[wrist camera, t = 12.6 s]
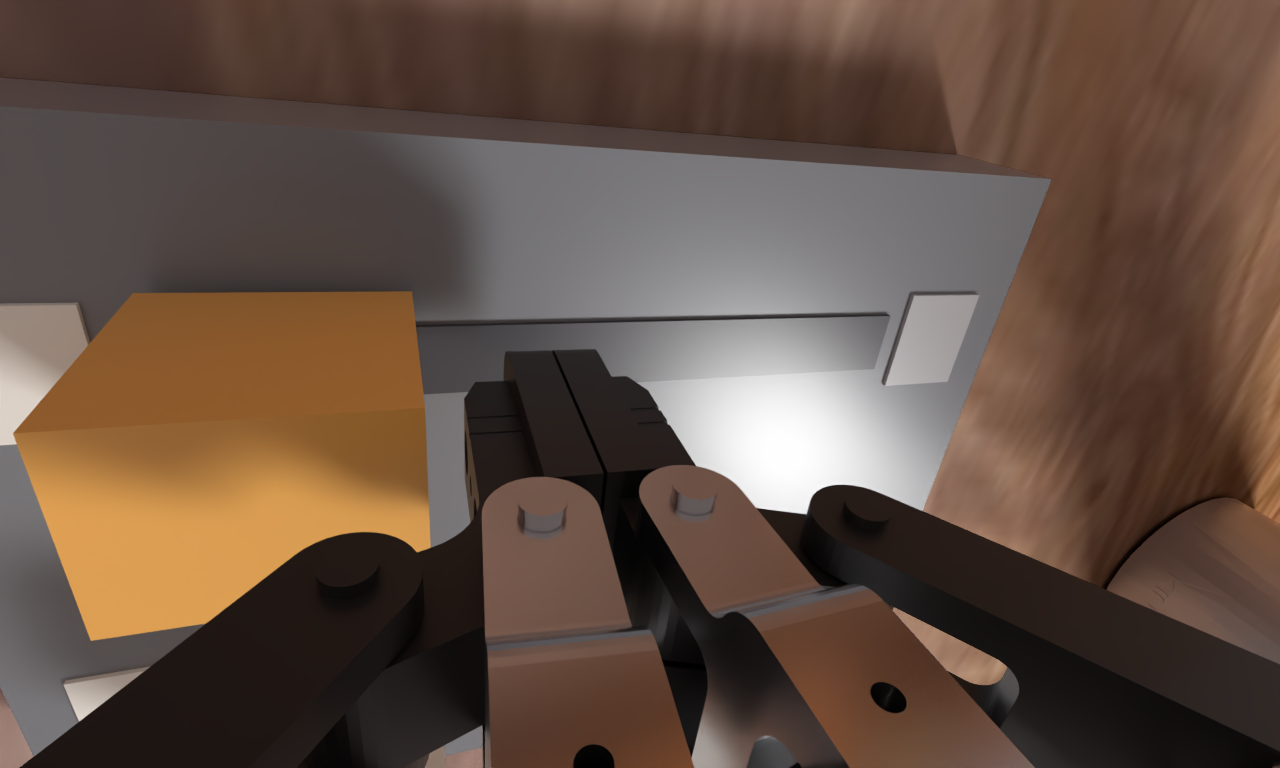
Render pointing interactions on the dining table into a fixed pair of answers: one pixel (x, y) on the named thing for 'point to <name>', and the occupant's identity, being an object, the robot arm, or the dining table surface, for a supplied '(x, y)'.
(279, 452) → the slider
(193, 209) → the switch panel
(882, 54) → the dining table surface
